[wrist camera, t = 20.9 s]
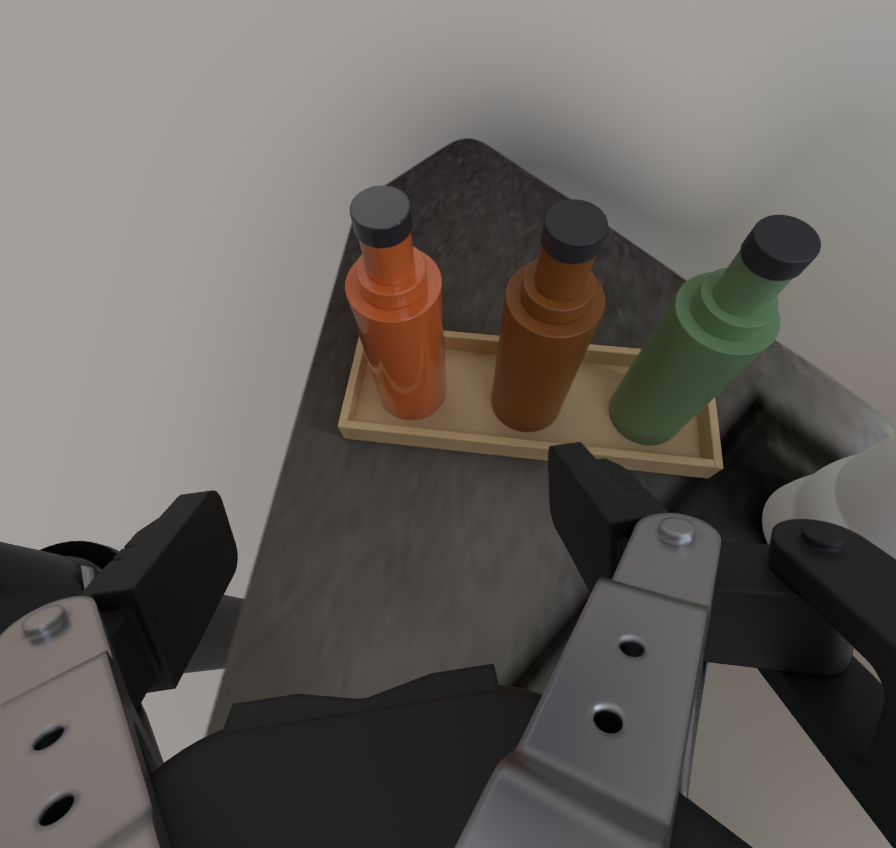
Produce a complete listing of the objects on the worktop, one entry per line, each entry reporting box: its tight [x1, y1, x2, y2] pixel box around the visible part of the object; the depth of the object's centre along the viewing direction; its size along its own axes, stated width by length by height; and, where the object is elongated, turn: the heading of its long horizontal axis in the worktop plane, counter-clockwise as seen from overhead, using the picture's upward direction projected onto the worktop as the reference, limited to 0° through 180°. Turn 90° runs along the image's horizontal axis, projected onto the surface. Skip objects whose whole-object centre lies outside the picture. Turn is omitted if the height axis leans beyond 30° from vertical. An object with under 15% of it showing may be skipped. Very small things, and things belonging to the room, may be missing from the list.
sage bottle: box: [609, 215, 821, 445], centre depth 29 cm, size 5×5×18 cm
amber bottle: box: [491, 199, 608, 432], centre depth 29 cm, size 5×5×18 cm
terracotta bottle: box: [345, 186, 447, 420], centre depth 30 cm, size 5×5×18 cm
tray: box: [338, 331, 723, 478], centre depth 37 cm, size 27×9×2 cm, turn 83°
